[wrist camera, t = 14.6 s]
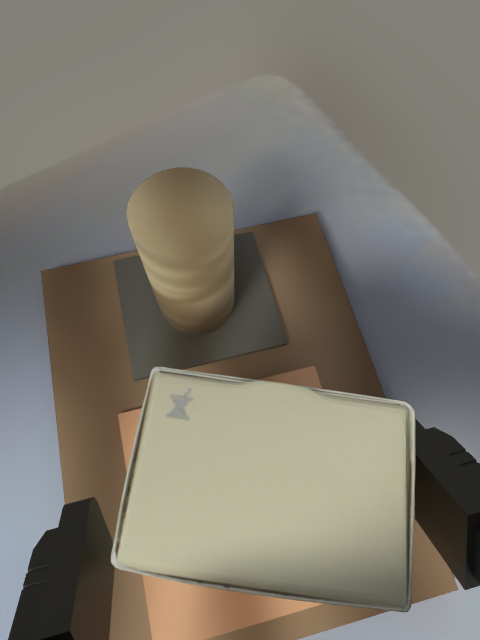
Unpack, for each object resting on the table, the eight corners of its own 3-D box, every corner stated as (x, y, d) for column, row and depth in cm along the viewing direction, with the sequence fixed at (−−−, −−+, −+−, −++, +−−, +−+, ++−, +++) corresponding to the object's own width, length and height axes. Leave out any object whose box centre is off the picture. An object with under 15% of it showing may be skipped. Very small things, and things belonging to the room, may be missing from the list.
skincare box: (170, 537, 20) (86, 571, 9) (188, 437, 22) (137, 359, 11) (316, 560, 20) (421, 625, 9) (323, 457, 22) (419, 398, 10)
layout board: (92, 695, 19) (-25, 846, 10) (48, 279, 26) (-43, 168, 18) (448, 586, 21) (598, 639, 12) (312, 222, 28) (346, 96, 20)
